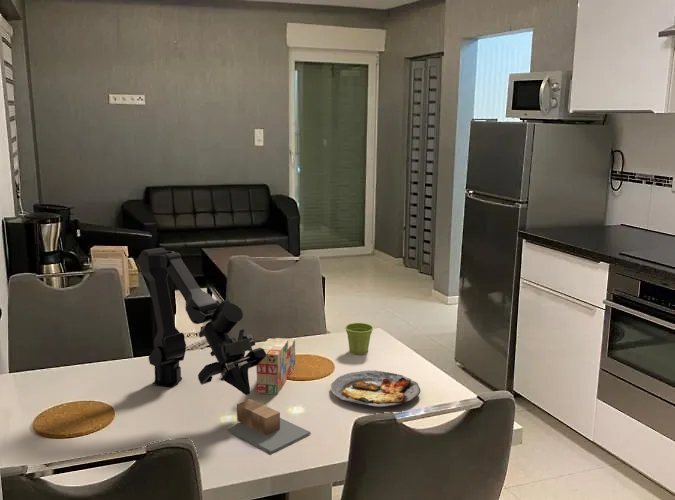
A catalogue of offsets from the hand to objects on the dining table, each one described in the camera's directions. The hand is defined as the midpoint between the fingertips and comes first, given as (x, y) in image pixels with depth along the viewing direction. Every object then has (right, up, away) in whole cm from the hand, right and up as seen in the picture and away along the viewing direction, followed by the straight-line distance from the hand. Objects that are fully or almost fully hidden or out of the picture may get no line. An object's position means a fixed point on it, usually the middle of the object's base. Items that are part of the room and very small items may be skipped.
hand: (248, 394), depth 161 cm
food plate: (+33, -5, +21) cm, 40 cm away
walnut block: (-1, -5, +2) cm, 5 cm away
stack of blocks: (+4, -2, +29) cm, 29 cm away
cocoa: (-10, 0, +42) cm, 43 cm away
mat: (+5, -9, -3) cm, 11 cm away
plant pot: (+29, +2, +53) cm, 61 cm away
